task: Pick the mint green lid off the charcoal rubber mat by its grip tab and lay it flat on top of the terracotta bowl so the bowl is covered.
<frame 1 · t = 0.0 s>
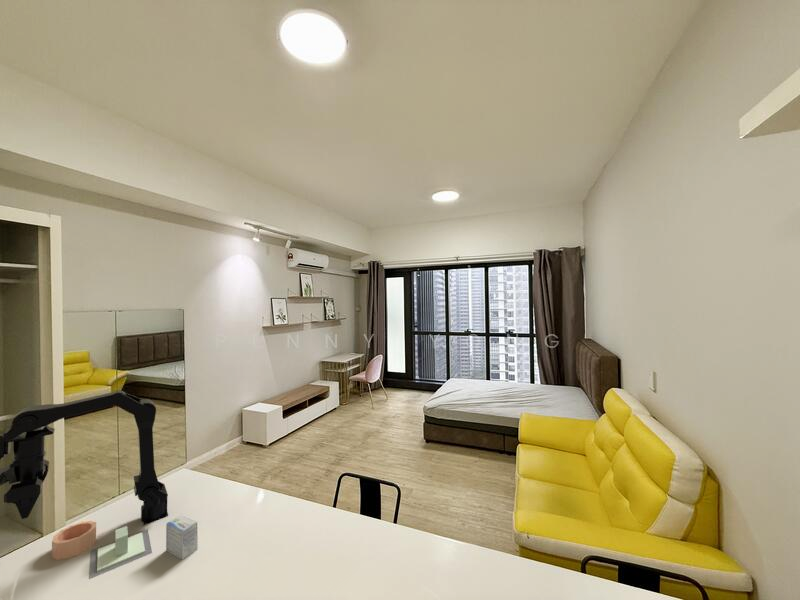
hand: (28, 509, 89), 15 cm above the table, tool pointing down, fingers open, 9 cm apart
bowl: (74, 548, 94), on the table
mint green lid: (121, 551, 92), resting on mat
mat: (121, 553, 92), on the table
medicine box: (181, 552, 93), on the table
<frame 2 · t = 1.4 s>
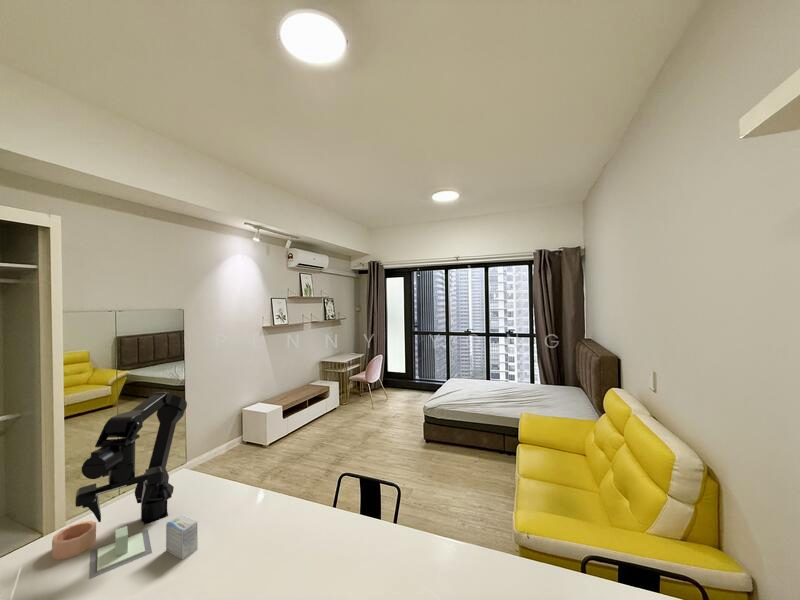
hand: (121, 514, 92), 11 cm above the table, tool pointing down, fingers open, 9 cm apart
nothing on the table moved.
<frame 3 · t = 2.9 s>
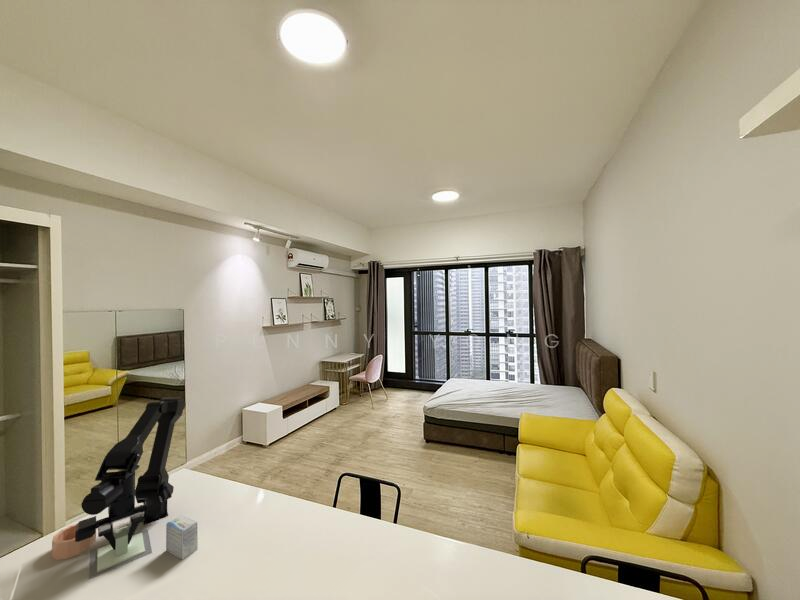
hand: (121, 546, 92), 2 cm above the table, tool pointing down, fingers closed on mint green lid, 3 cm apart
mint green lid: (121, 551, 92), resting on mat, touching gripper
everything else where it was.
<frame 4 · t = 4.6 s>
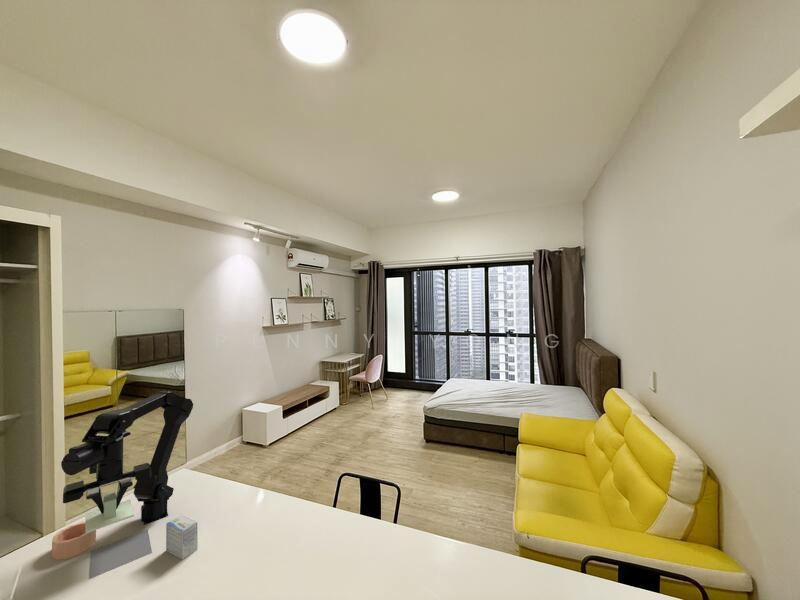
hand: (109, 510, 93), 12 cm above the table, tool pointing down, fingers closed on mint green lid, 3 cm apart
mint green lid: (109, 516, 93), point 10 cm above the table, touching gripper
everything else where it was.
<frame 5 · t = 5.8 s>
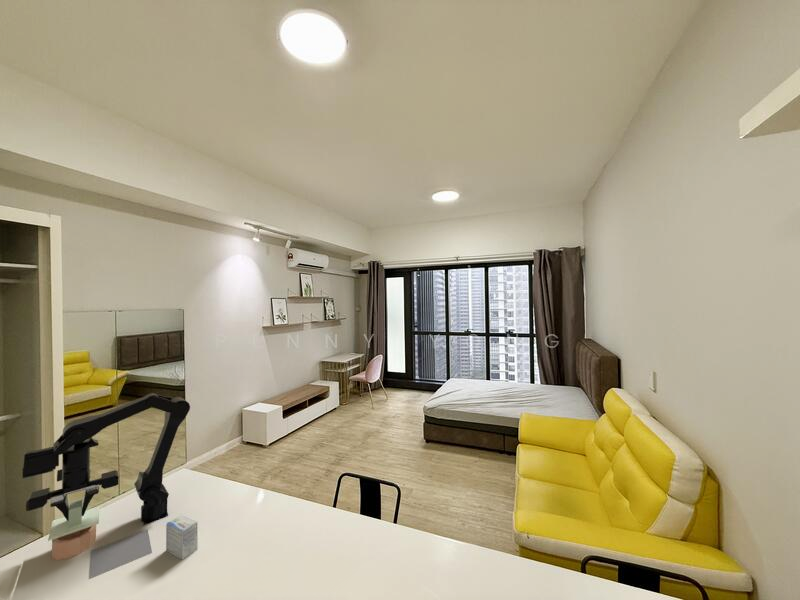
hand: (75, 517, 94), 9 cm above the table, tool pointing down, fingers closed on mint green lid, 3 cm apart
mint green lid: (75, 523, 94), point 7 cm above the table, touching gripper
everything else where it was.
when the fingers open (8 cm above the table, at t = 6.5 s): mint green lid drops 1 cm, resting on bowl.
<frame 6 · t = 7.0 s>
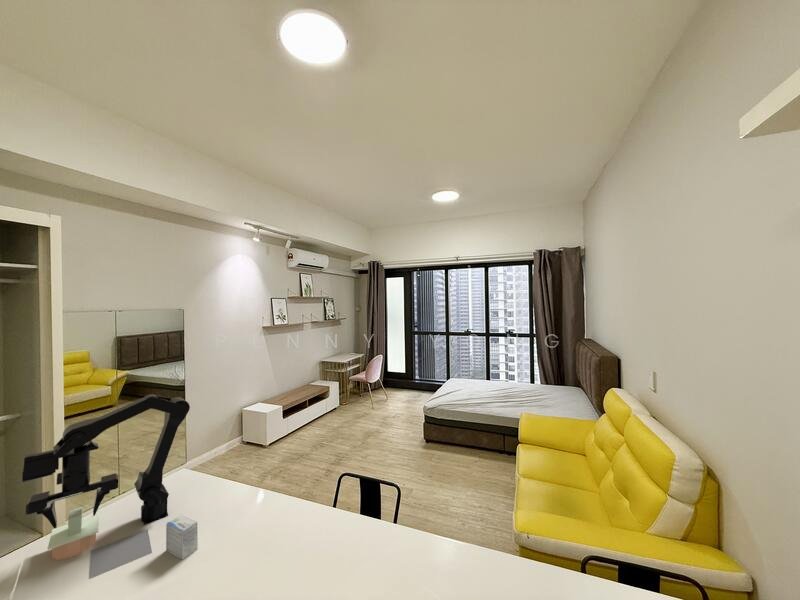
hand: (75, 521, 94), 8 cm above the table, tool pointing down, fingers open, 8 cm apart
mint green lid: (75, 531, 94), point 5 cm above the table, touching bowl
everything else where it was.
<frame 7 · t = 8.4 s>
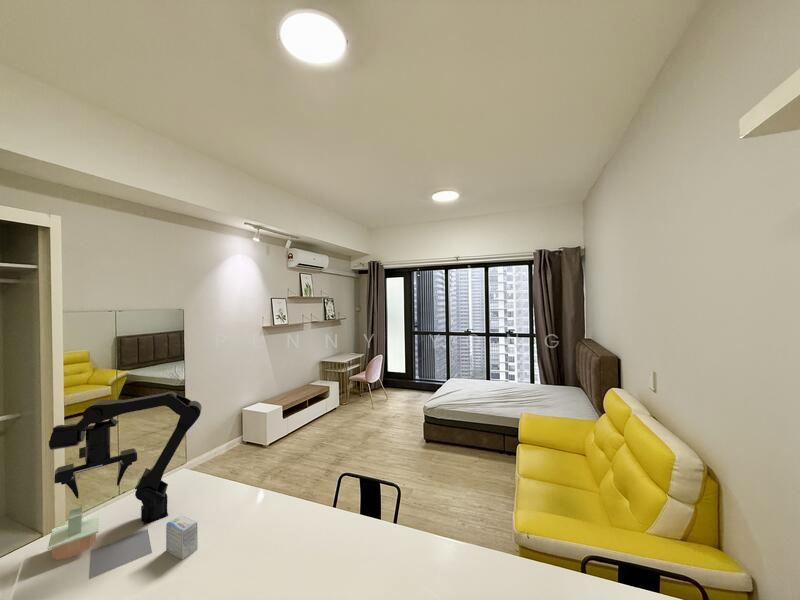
hand: (98, 491, 101), 13 cm above the table, tool pointing down, fingers open, 9 cm apart
nothing on the table moved.
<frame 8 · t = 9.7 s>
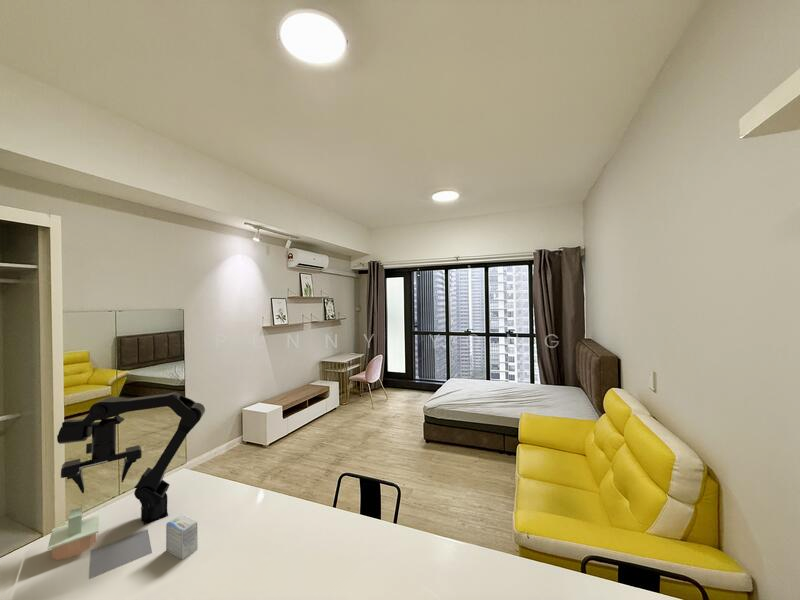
hand: (103, 486, 103), 13 cm above the table, tool pointing down, fingers open, 9 cm apart
nothing on the table moved.
at the end: mint green lid 0.1 cm off-centre on the bowl, point 5.0 cm above the bowl's base; mint green lid tilted 0°; the gripper is holding nothing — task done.
